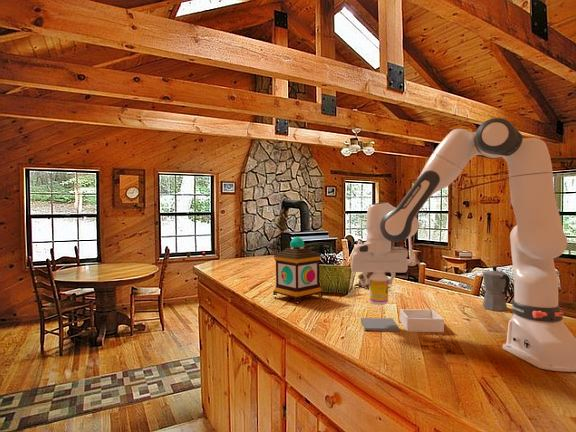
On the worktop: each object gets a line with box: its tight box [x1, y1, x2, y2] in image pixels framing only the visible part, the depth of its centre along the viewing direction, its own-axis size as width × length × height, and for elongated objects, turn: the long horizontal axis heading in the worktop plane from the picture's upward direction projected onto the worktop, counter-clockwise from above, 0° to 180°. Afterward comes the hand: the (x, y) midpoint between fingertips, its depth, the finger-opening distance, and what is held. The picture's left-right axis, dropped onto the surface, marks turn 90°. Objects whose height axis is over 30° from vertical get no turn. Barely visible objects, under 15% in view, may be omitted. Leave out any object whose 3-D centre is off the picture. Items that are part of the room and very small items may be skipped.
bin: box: [399, 308, 445, 333], centre depth 134 cm, size 12×12×4 cm
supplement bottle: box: [368, 269, 389, 306], centre depth 135 cm, size 7×7×13 cm
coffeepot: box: [482, 266, 511, 312], centre depth 155 cm, size 15×9×18 cm, turn 6°
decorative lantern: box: [272, 236, 324, 303], centre depth 178 cm, size 20×20×30 cm
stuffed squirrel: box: [354, 272, 373, 289], centre depth 202 cm, size 10×14×13 cm
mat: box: [360, 317, 401, 332], centre depth 135 cm, size 12×12×1 cm
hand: (378, 284), depth 135 cm, fingers closed on supplement bottle, 7 cm apart
